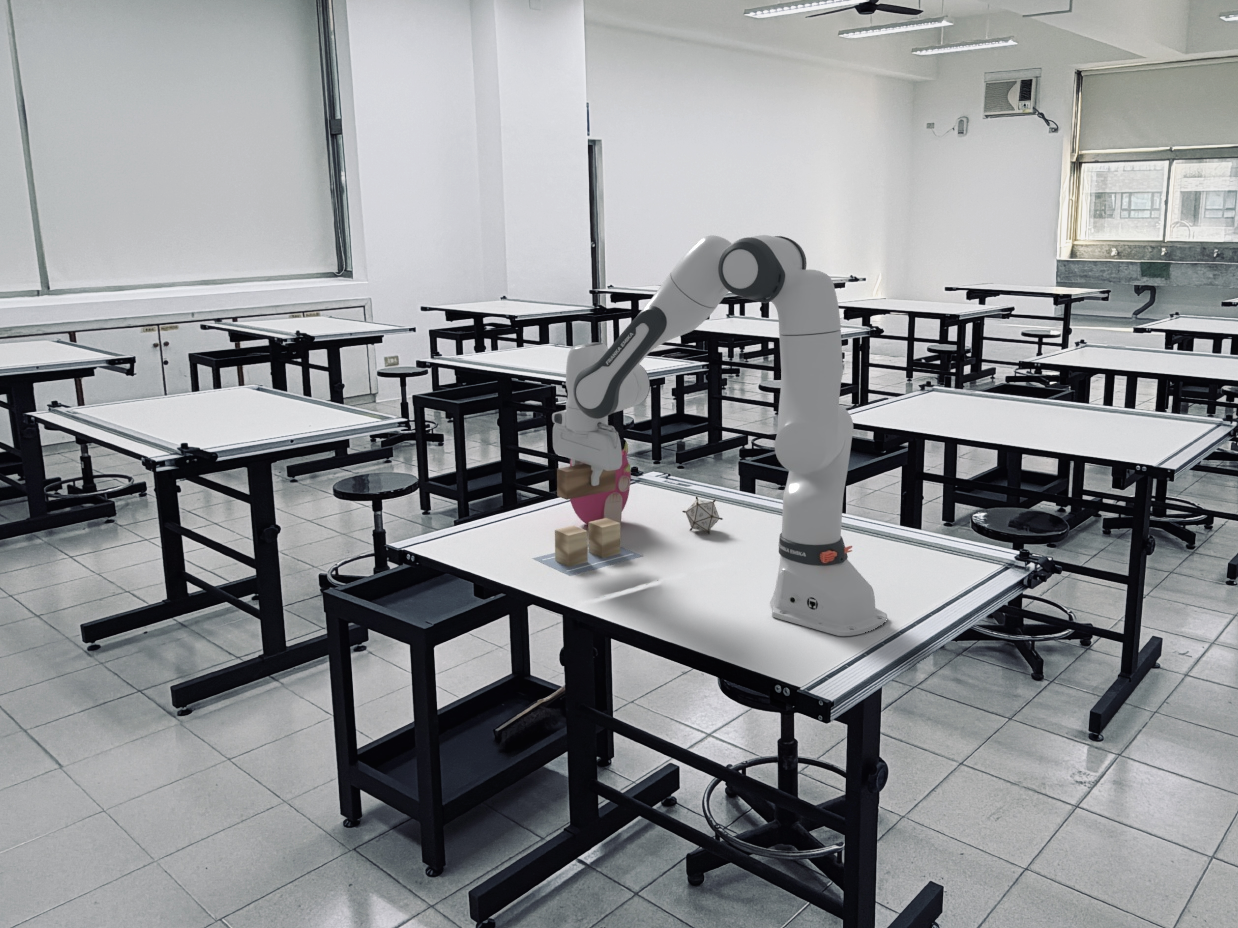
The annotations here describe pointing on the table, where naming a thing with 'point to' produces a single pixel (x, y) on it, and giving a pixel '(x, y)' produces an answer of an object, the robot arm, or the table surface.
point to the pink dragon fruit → (606, 497)
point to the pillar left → (571, 546)
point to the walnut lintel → (582, 481)
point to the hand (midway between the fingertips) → (586, 482)
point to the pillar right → (604, 537)
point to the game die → (702, 515)
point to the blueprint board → (592, 563)
